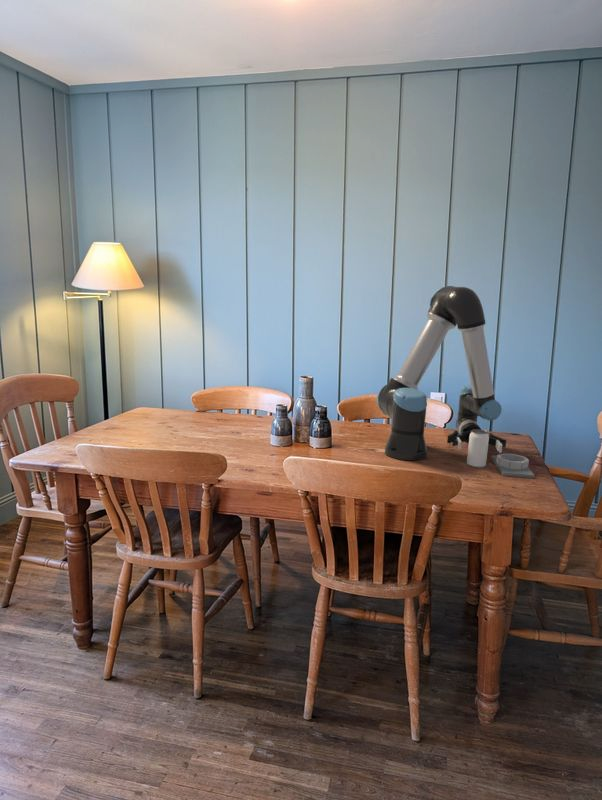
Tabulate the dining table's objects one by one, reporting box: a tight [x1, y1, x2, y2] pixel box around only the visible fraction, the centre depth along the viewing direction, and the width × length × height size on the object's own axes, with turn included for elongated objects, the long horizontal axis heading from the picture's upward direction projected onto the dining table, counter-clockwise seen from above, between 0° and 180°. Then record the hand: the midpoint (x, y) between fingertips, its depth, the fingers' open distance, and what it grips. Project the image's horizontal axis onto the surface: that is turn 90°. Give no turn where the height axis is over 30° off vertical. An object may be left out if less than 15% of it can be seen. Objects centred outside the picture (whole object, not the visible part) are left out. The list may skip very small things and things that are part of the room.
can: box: [466, 429, 489, 468], centre depth 203 cm, size 6×6×12 cm
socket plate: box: [491, 452, 535, 479], centre depth 203 cm, size 10×20×4 cm, turn 173°
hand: (480, 447), depth 201 cm, fingers open, 13 cm apart
